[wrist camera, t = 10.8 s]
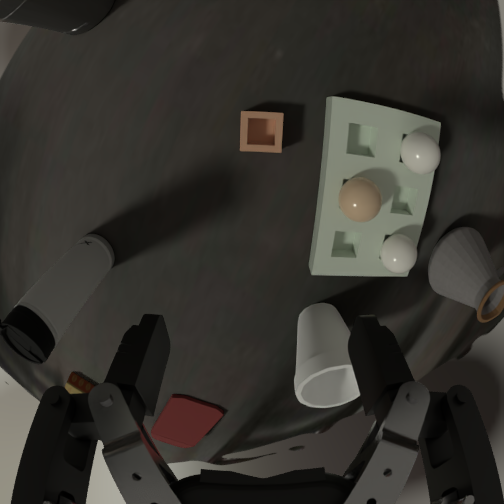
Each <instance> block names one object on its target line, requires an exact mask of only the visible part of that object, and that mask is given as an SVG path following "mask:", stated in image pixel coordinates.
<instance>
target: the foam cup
mask: <svg viewBox="0 0 504 504" xmlns="http://www.w3.org/2000/svg"><path fill="white" fill-rule="evenodd" d="M350 334H351V333H350V331H349V329H348V328H347V326H346V324H345V322H344V320H343V319H342V317H341V315H340V314H339V312H338V311H337V309H336V308H335V307H334V306H333V305H331V304H327V303H317V304H313V305H311V306H309V307H307V308H305V309H304V310H303V311H302V313H301V314H300V315H299V319H298V333H297V359H296V375H295V378H294V385H295V394H296V396H297V398H298V400H299V402H300V403H303V404H305V405H307V406H309V407H319V408H327V407H333V406H338V405H342V404H344V403H347V402H349V401H351V400H354V399H356V398H357V397H358V396H360V392H359V389H358V385H357V381H356V378H355V374H354V371H353V368H352V364H351V361H350V357H349V354H348V340H349V337H350Z"/></svg>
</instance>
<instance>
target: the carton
mask: <svg viewBox="0 0 504 504" xmlns="http://www.w3.org/2000/svg"><path fill="white" fill-rule="evenodd" d="M94 387H95V386H94V385H92V384H91V383H89V382H87V381H86V380H84V379H83V378H81V377H80V376H78V375H77V374H75V373H74V372H72V373H71V374H70V376H69V378H68V381H67V383H66V386H65V389H66V390H67V391H68V392H69V393H70V394H77V393H88V392H90V391H91V390H92V389H93V388H94Z"/></svg>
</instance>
